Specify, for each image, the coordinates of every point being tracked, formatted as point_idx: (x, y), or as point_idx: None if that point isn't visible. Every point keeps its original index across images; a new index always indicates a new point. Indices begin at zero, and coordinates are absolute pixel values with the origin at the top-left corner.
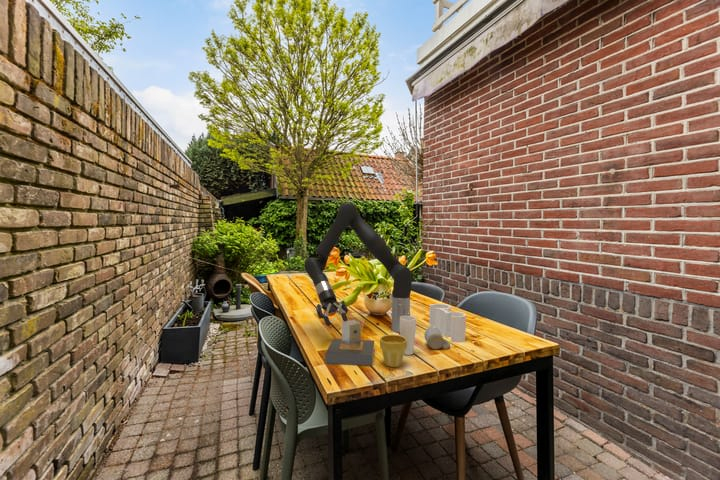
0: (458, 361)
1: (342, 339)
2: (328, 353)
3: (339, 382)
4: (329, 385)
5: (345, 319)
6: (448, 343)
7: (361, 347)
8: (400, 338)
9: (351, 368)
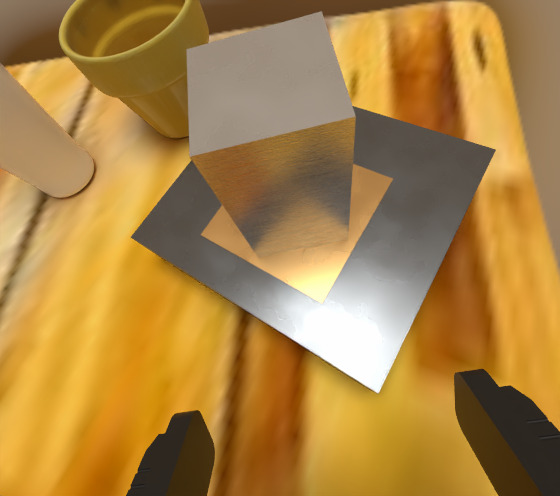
0: None
1: (348, 217)
2: (474, 145)
3: (440, 37)
4: (483, 26)
5: (189, 431)
6: None
7: None
8: (75, 46)
9: None
